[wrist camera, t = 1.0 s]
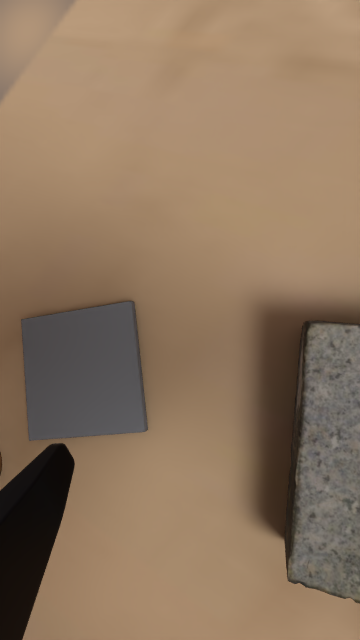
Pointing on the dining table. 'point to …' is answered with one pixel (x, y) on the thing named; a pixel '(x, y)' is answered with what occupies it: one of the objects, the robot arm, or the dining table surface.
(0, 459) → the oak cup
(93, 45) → the dining table surface
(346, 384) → the stone block
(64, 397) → the slate mat
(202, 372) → the dining table surface
